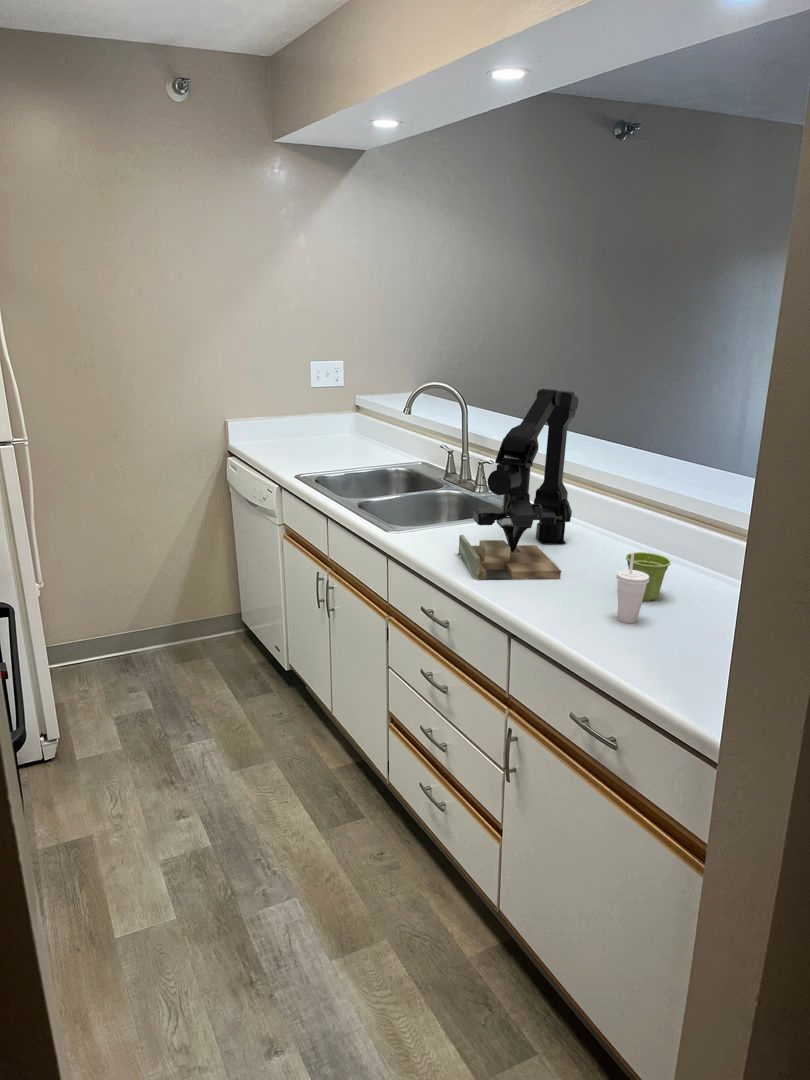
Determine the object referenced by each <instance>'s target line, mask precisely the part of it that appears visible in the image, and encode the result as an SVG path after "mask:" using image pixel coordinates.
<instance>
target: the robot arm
mask: <svg viewBox="0 0 810 1080" xmlns="http://www.w3.org/2000/svg"><path fill="white" fill-rule="evenodd" d="M578 407H579V397H578V396H577V395H576V394H575V392H574V391H570V390H569V391H567V390H557V389H553V388H540V389H538V391H537V392H536V398H535V399H534V401H533V403H532V405H531V406H530V408H529V410H528V411H527V413H526V414H525V416H524V418H523V419H522V420H521V422H520V424H519V425H516V426H514V427H512V428H511V429H510V430H509V431H508V432H507V433H506V435H505V436H504V437H503V438H502V440H501V444H500V447H499V450H498V452H497V455H496V458H495V460H494V461H495V462H494V463H495V464H497V465H496V469H495V470H493V471H491V472H490V474H489V475H488V478H487V487H488V490H490V492H492V494H494V495H497V496H503V500H502V501H503V503H502V506H501V511H502V512H501V511H500V512H499V511H498V512H496V511H495V512H494V511H493V510H492V508H491V507H489V508H488V507H478V508H477V507H476V508H475V509H474V511H473V516H472V518H473V521H474V522H475V523H476V524H477V525H478V526H493V525H494V523H496V524H497V525H498V526H499V527H500V528H502V530H503V532H504V535H505V538H506V541H507V542H506V543H507V544H508V545H509V546H510V552H514V551H515V549H516V546H517V545H518V544H519V542H520V539H521V537H522V536H523V535H524V532H525V531H527V530H528V529H531V528H532V526H533V523H534V521H538V522H537V524H536V531H535V532H536V533H535V539H537V541H539V543H541V544H542V545H566V543H567V542H566V541H565V533H566V532H565V531H566V530H565V529H566V523H571V519H572V513H573V511H572V508H571V506H570V502H569V500H568V495H569V493H568V490H567V488H566V486H565V485H564V482H563V477H564V465H565V456H566V445H567V436H568V426H569V425H570V423H571V422H572V421H573V419H574V418H575V417H576V411H577V409H578ZM546 423H547V425H548V426H547V440H546V453H545V465H544V477H543V482H542V483H541V485H540V486H539V488H537V489H536V491H535V497H534V499H533V503H531V497H530V496H531V495H530V494H529V491H530V479H531V467H533V465H534V464H533V462H534V461H535V458H536V456H537V453H538V452H539V440H538V437H539V435H540V434H541V431H542V430H543V428H544V426H545V425H546Z"/></svg>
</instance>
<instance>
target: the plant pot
mask: <svg viewBox="0 0 810 1080" xmlns="http://www.w3.org/2000/svg"><path fill="white" fill-rule="evenodd" d="M631 553H632V552H630V553H627V554H626V555H625V560H626V561H627V567H628V570H629V569H630V560H631ZM633 553H634V560H633V568H632V570H637V571H641V572H644V573H646V574H648V575H649V582H648V583H647V585H646V589H645V592H644V596H643V600H642V601H645V602H648V601H652V600H653V601H657V600H658V598H659V596H660V591H661V588H662V585H663V581H664V579H665V574H666V572H667V571H668V567H669V566H670V565H671V564H672V562H671V559H669V558H668V557H666V556H664V555H661V554H656V553H652V552H642V551H641V552H640V551H639V552H638V551H637V552H633Z"/></svg>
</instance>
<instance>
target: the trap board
mask: <svg viewBox="0 0 810 1080" xmlns="http://www.w3.org/2000/svg"><path fill="white" fill-rule="evenodd" d="M459 555H460V556H461V557H460V556H459ZM458 556H459V557H460V559H461V558H462V559H461V561H464V562H463V563H465V564H464V565H465V566H467V567H466V568H467V569H469V570H468V572H469V573H470V574H472V575H471V576H472V578H473V579H474V580H479V581H500V580H501V581H504V580H505V581H506V580H507V581H510V580H511V581H512V580H516V581H518V580H560V579H561V574H562V570H561V569H560V568H559V567H558V566H557V565H556V564H555V563H554V562H553V561H552V560H551V559H550V558H549V557H548V556H547V554H546V553H544V551H543V550H541V548H539V547H538V546H537V544H534V545H533V544H531V545H527V544H526V545H524V544H523V545H522V544H521V545H518V544H517V546H516V549H515V551H514V552H511V551H510V561H509V562H484V560H483V559H482V558H481V556H480V555H479V545H472V544H470V542H469V540H468V539H467V538H466V536H465V535H464V534H459V538H458Z"/></svg>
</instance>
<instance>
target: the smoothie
mask: <svg viewBox="0 0 810 1080" xmlns="http://www.w3.org/2000/svg"><path fill="white" fill-rule="evenodd" d="M630 553H631V560H630V569H629V568H628V569H621V570H618V571H617V572H616V576H615V579H616V580H617V619H618V621H619V622H621V623H625V624H634V623H635V624H636V623H637V622H638V620H639V619H638V618H639V614H640V611H641V607H642V603H643V601H644V600H643V596H644V592H645V589H646V585H647V583H648V582H649V575H648V574H646V573H644V572H641V571H637V570H632V568H633V560H634V553H635V552H630Z"/></svg>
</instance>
